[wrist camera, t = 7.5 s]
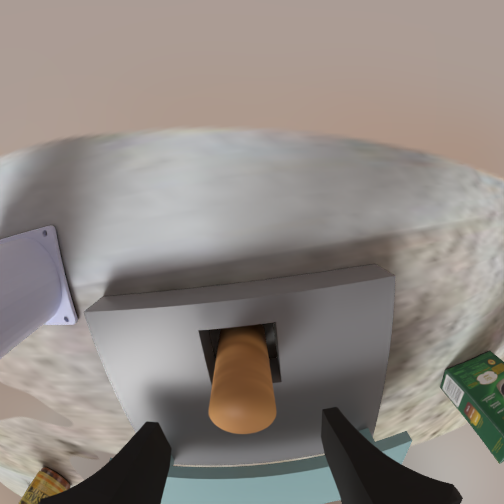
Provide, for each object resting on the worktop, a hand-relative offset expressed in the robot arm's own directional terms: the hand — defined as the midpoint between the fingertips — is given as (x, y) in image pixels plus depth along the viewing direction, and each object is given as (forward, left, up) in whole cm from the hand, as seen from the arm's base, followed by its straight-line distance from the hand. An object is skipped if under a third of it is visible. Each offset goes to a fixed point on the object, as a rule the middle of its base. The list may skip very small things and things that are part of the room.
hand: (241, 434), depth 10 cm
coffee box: (+23, -10, -10) cm, 27 cm away
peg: (0, 0, -9) cm, 9 cm away
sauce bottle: (-37, -29, -10) cm, 48 cm away
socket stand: (0, -4, -9) cm, 10 cm away
